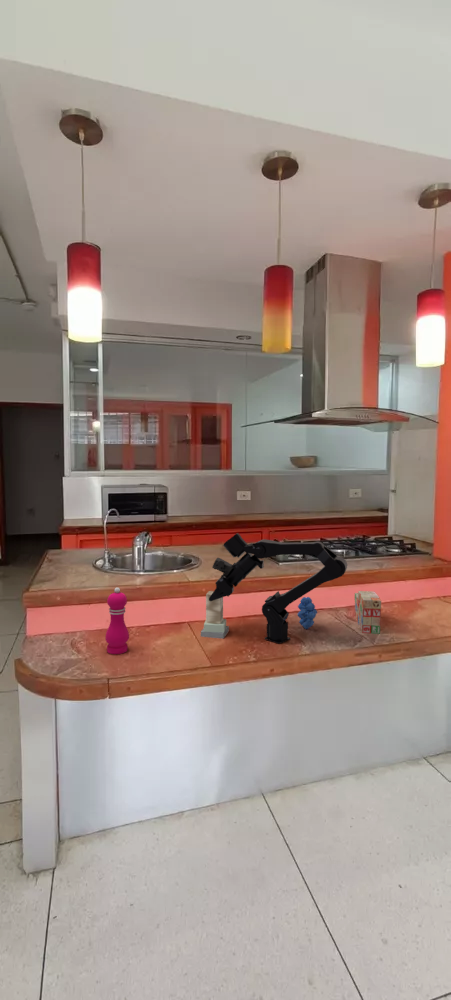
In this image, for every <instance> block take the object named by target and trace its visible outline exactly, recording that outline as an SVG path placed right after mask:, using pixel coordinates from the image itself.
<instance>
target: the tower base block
mask: <svg viewBox="0 0 451 1000" xmlns="http://www.w3.org/2000/svg"><path fill="white" fill-rule="evenodd" d="M229 627H230V626H229V625H226V628H225V631H224V633H223V632H204V627H203V628H202V629H201V631H200V637H201V638H203V637H204V638H215V639H223V640H224V638H225V637H226V635H227V634H228V633H229V631H230V628H229Z"/></svg>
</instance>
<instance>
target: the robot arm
mask: <svg viewBox="0 0 451 1000" xmlns="http://www.w3.org/2000/svg"><path fill="white" fill-rule="evenodd" d="M222 547H224V549H226V551H227V552H228V553H229V554H230V556H232V558H238V559H239V560H237V561H236V562H234V563H233V564H232V563H230V562H229V561H227V560H225V559H222V558H221V557H217V558H216V559H215V561H214V562H213V564H212V566H211V567H212V569H214V570H217V571H219V572H221V573H222V575H221V576H220V577H219V578H218V579H217V581H215V589H214V590H213V591H214V592H213V593H212V595H211V596H210V598H209V601H213V600H216V599H219V598H222V597H223V598H224V597H230V596H231V595H232V594H233V593H234V591H235V588H236V587H237V586H238V585H239V584H240V583H241V582H242V581H243V580H244V579H246V578H247V576H248V575H249V574H251V572H252V571H253V570H254V569H256V567H258V568H259V569H264V567H265V566H264V563H265V560H264V559H266V558H267V559H268V558H273V557H275V556H276V557H277V556H280V555H281V556H282V555H283V556H285V555H286V556H289V555H294V556H295V555H301V556H302V555H303V556H304V555H307V556H308V555H309V556H311V555H314V556H315V557H316V558H317V559H318V560H319V562H320V563H321V564H322V565H323V567H321V569H320V570H319V571H317V572H316V573H314V574H313V575H310V577H308V578H307V579H305V580H303V581H301V582H299V584H297V585H295V586H294V587H292V588H290V589H289V590H287V591H286V592H284V593H280V591H279V590H277V592H275V593H274V594H273V595H269V596H268V597H267V598H266V599H265V600H264V604H263V605H261V613H262V615H263V616H264V617H265V618H266V622H267V624H266V636H265V637H264V640H267V641H270V642H273V643H276V644H282V643H284V642H285V643H286V642H287V641H291V637H289V634H288V633H289V622H288V621H286V620H287V619H288V617H289V614H290V613H289V611H288V610H287V609H286V608H287V607H288V606H290V605H291V604H292V603H293V602H295V601H297V600H299V599H300V598H303V596H305V595H306V594H308V593H309V592H311V591H313V590H314V589H316V588H317V587H319V586H321V585H322V584H324V583H327V582H331V581H333V580H336V579H338V578H341V577H342V576H344V575H345V574H346V570H347V569H348V562H347V560H346V559H345V558H344V557H341V556H338V555H337V554H336V553H335V552H334V551H332V549H331V550H330V549H329V548H328V547H327V546H326V545H325V544H324V543H323V542H321V541H313V542H311V541H310V542H306V541H305V542H300V541H299V542H280V541H276V540H272V539H266V538H265V539H261V540H259V541H257V542H254V543H253V542H250V543H249V544H248V543H247V542H246V540H244V538H243V537H242V536H241V534H239V532H237V533H235V534H234V535H233V536H231V537H230V538H229V539H227V540H226V541H225V542H224V543H223V545H222Z"/></svg>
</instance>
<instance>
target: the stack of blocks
mask: <svg viewBox="0 0 451 1000" xmlns="http://www.w3.org/2000/svg"><path fill="white" fill-rule="evenodd" d="M381 614H382V600H381V598H380V597H379V595H378V594H377V593H376V592H375V591H370V590H369V591H367V590H365V591H363V590H358V591H357V592H355V593H354V616H355V620H356V621H357V624H358V626H359V629H360V631H361V633H362V634H372V635H373V634H375V635H377V634H378V635H380V634H381V616H382V615H381Z"/></svg>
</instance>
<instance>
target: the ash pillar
mask: <svg viewBox="0 0 451 1000" xmlns="http://www.w3.org/2000/svg"><path fill="white" fill-rule="evenodd" d="M213 592H214V590H209V591H207V593H206V594H205V621H206V623H211V624H221V622H222V621H223V619H224V597H222V598H219V599H216V600H213V601H209V598H210V596H211V595H212V593H213Z"/></svg>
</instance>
